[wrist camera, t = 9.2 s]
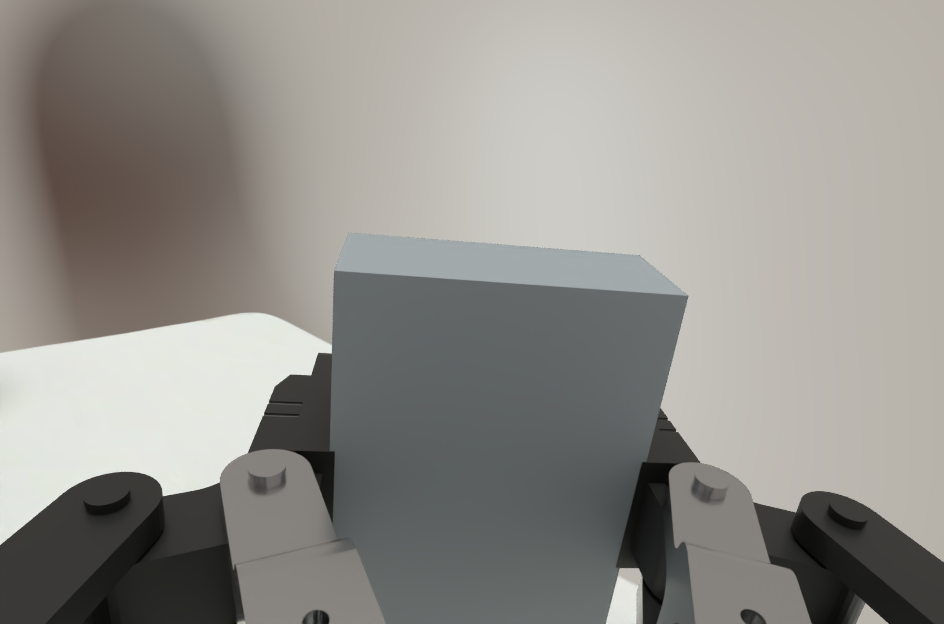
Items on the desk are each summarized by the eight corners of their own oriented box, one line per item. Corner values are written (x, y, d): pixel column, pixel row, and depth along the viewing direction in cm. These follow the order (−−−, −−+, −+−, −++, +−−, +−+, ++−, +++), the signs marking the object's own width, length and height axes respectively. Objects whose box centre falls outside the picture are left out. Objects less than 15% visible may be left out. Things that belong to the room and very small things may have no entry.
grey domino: (321, 762, 12) (333, 270, 8) (333, 667, 14) (347, 232, 10) (572, 754, 12) (689, 295, 9) (551, 664, 14) (639, 255, 11)
